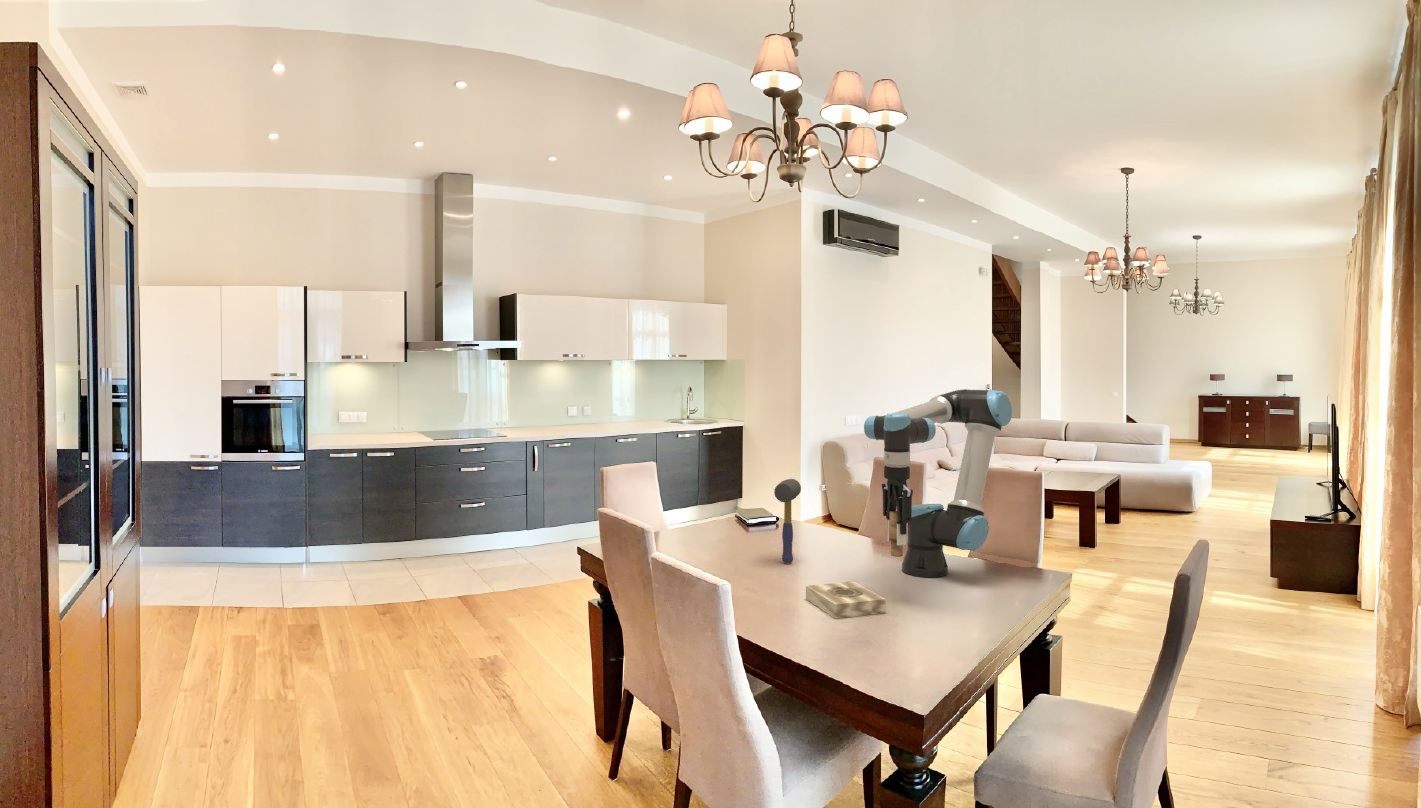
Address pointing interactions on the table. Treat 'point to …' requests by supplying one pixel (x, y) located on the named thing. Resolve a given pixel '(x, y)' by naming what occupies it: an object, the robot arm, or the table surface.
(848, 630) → the table surface
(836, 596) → the board
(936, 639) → the table surface
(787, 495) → the rubber mallet
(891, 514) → the peg
